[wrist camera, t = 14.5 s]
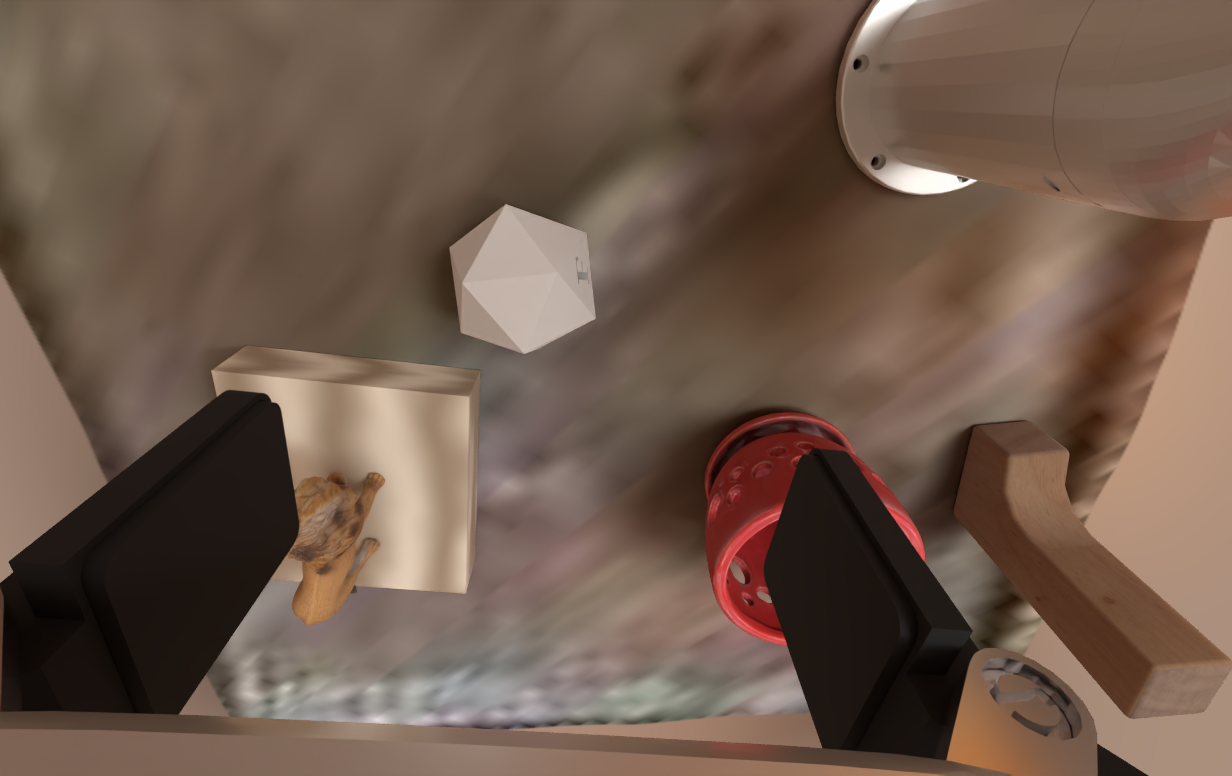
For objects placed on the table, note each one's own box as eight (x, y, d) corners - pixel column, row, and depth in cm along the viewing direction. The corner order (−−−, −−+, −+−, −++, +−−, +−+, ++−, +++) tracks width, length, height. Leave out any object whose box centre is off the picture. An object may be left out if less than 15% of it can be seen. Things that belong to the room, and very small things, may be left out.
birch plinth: (480, 370, 40) (469, 396, 37) (475, 557, 48) (465, 593, 45) (246, 345, 39) (211, 370, 35) (281, 542, 47) (256, 578, 43)
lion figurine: (303, 423, 37) (223, 512, 29) (385, 431, 38) (329, 521, 30) (324, 583, 44) (264, 691, 36) (394, 588, 44) (350, 696, 36)
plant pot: (765, 364, 41) (825, 459, 30) (884, 452, 45) (974, 563, 34) (654, 482, 45) (671, 601, 35) (770, 552, 49) (818, 678, 39)
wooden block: (971, 423, 44) (1187, 612, 28) (1029, 418, 44) (1279, 604, 28) (950, 513, 48) (1127, 722, 32) (1003, 508, 48) (1207, 715, 32)
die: (560, 345, 40) (633, 342, 32) (439, 360, 36) (488, 360, 28) (547, 228, 39) (619, 194, 31) (421, 229, 35) (466, 190, 27)
